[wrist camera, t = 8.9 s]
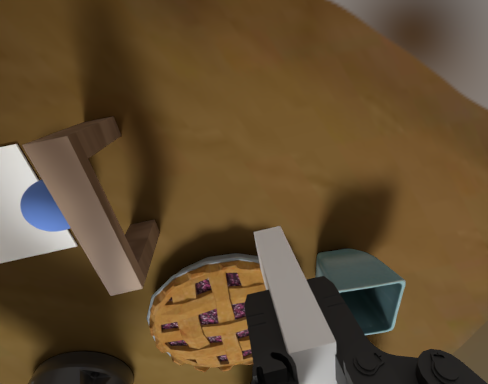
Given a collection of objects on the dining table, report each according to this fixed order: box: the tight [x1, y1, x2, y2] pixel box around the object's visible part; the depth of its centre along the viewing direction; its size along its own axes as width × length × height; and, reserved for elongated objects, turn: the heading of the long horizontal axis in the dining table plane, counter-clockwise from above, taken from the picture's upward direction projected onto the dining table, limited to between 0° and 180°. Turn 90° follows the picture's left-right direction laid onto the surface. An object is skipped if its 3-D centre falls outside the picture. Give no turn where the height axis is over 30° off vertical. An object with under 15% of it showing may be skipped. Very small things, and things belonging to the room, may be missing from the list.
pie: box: [147, 253, 266, 372], centre depth 36 cm, size 22×22×5 cm
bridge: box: [22, 116, 160, 296], centre depth 24 cm, size 3×14×9 cm, turn 10°
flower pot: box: [316, 249, 406, 335], centre depth 33 cm, size 9×9×9 cm
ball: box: [20, 180, 70, 232], centre depth 25 cm, size 6×6×6 cm
